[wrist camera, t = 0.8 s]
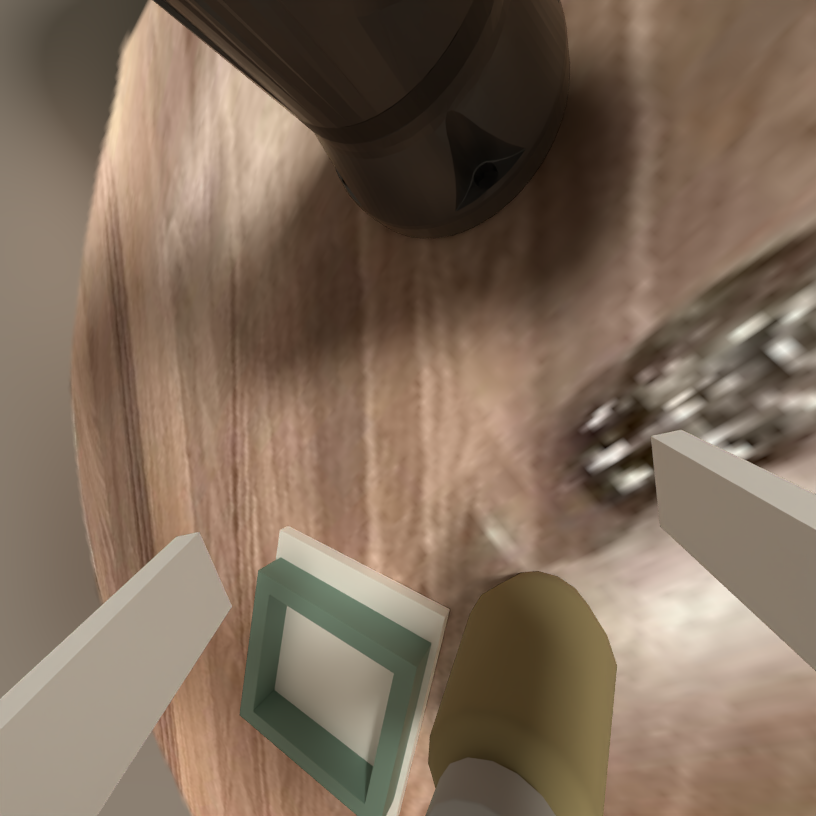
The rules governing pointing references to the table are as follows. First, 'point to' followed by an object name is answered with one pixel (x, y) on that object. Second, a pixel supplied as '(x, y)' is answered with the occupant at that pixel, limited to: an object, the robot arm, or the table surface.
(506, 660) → the squeeze bottle
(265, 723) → the collar stand
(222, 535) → the table surface
